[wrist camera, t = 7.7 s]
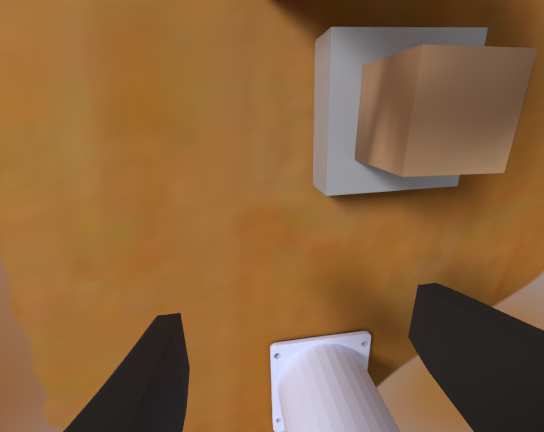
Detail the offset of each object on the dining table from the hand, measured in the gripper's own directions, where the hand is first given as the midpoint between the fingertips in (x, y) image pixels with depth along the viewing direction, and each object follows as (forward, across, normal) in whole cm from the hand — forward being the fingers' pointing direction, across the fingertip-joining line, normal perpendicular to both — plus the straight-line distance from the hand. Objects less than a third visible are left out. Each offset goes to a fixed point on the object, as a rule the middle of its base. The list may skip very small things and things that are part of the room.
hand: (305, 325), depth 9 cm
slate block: (+11, -7, -6) cm, 14 cm away
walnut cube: (+8, -7, -6) cm, 12 cm away
